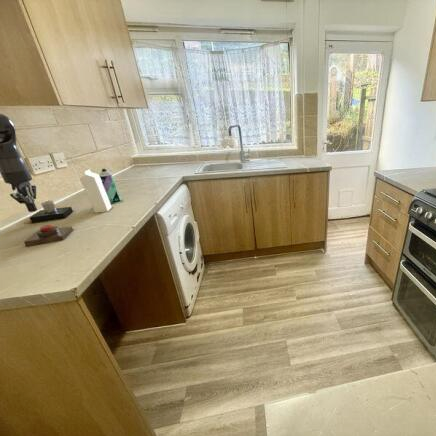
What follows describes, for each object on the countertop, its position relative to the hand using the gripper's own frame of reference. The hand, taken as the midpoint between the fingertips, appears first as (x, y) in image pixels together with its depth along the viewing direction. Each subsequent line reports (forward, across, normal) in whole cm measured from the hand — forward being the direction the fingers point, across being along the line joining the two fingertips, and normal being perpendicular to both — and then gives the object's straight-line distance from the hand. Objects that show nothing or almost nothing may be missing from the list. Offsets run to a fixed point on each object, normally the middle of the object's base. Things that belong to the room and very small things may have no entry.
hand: (33, 211), depth 101 cm
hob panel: (+12, -25, -6) cm, 28 cm away
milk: (+11, -24, +16) cm, 31 cm away
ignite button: (+8, +4, +4) cm, 10 cm away
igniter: (+11, +4, +4) cm, 13 cm away
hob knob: (+9, -25, -6) cm, 27 cm away
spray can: (+11, -37, +19) cm, 43 cm away
